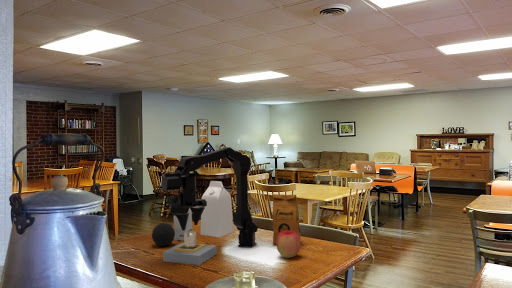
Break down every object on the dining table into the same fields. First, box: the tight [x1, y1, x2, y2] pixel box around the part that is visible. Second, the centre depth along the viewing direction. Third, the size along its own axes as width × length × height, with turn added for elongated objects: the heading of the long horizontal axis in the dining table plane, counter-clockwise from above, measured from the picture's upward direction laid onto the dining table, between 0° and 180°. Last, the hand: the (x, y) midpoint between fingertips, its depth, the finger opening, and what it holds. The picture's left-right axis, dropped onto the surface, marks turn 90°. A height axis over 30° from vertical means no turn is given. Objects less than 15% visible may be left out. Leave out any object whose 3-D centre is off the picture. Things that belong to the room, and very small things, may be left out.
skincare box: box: [173, 209, 193, 242], centre depth 181 cm, size 8×7×16 cm
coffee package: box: [271, 193, 302, 245], centre depth 168 cm, size 10×12×22 cm
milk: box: [200, 180, 235, 238], centre depth 190 cm, size 12×12×26 cm
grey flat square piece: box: [162, 242, 218, 266], centre depth 151 cm, size 16×14×4 cm
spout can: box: [179, 230, 197, 249], centre depth 152 cm, size 7×5×9 cm
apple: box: [275, 230, 302, 259], centre depth 149 cm, size 10×10×10 cm
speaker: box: [151, 222, 175, 247], centre depth 170 cm, size 10×10×10 cm
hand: (189, 227), depth 151 cm, fingers open, 9 cm apart
